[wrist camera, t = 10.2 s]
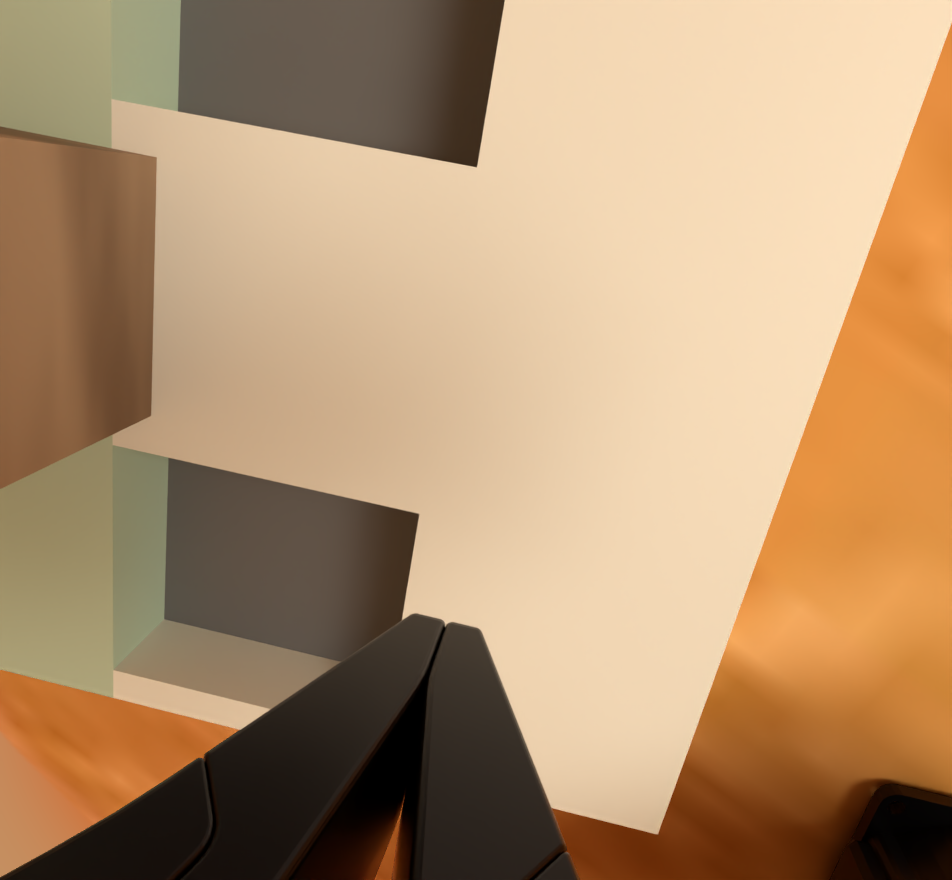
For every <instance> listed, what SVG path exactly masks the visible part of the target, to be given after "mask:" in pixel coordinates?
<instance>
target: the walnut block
mask: <svg viewBox="0 0 952 880" xmlns="http://www.w3.org/2000/svg"><path fill="white" fill-rule="evenodd" d="M156 172H157V157H153V156H148V155H143V154H138V153H133V152H128V151H122V150H117V149H112V148H107V147H102V146H97V145H92V144H87V143H82V142H77V141H72V140H67V139H62V138H57V137H52V136H47V135H41V134H36V133H31V132H26V131H21V130H16V129H11V128H6V127H1V126H0V489H2V488H4V487H6V486H8V485H10V484H12V483H14V482H16V481H18V480H20V479H22V478H24V477H26V476H28V475H31V474H33V473H35V472H37V471H39V470H41V469H43V468H45V467H47V466H49V465H51V464H53V463H55V462H57V461H59V460H61V459H63V458H66V457H68V456H70V455H72V454H74V453H76V452H78V451H80V450H82V449H84V448H86V447H88V446H90V445H92V444H94V443H96V442H98V441H101V440H103V439H105V438H107V437H109V436H111V435H113V434H115V433H117V432H119V431H121V430H123V429H125V428H127V427H129V426H131V425H133V424H136V423H138V422H140V421H142V420H144V419H146V418H148V417H150V416H151V402H152V356H153V310H154V264H155V218H156Z"/></svg>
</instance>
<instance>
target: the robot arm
mask: <svg viewBox="0 0 952 880" xmlns="http://www.w3.org/2000/svg"><path fill="white" fill-rule="evenodd" d="M403 801H404V803H403ZM894 801H897V802H896V803H893V804H890V803H891V802H894ZM402 805H403V808H402ZM401 808H402V814H401V819H400V825H399V831H398V837H397V844H396V851H395V859H394V866H393V873H392V880H580V878H579V875H578V873H577V870H576V868H575V865H574V863H573V860H572V858H571V855H570V854H569V853H567V846H566V843H565V841H564V838H563V836H562V833H561V831H560V828H559V826H558V823H557V821H556V818H555V815H554V813H553V810H552V808H551V805H550V803H549V800H548V798H547V795H546V793H545V790H544V788H543V785H542V783H541V780H540V778H539V775H538V772H537V770H536V767H535V765H534V762H533V760H532V757H531V755H530V752H529V750H528V747H527V745H526V742H525V740H524V737H523V734H522V732H521V729H520V727H519V724H518V722H517V719H516V717H515V714H514V712H513V709H512V707H511V704H510V702H509V699H508V697H507V694H506V691H505V689H504V686H503V684H502V681H501V679H500V676H499V674H498V671H497V669H496V666H495V664H494V661H493V659H492V656H491V653H490V651H489V648H488V646H487V643H486V641H485V638H484V636H483V633H482V631H481V630H480V629H479V628H477V627H473V626H469V625H464V624H460V623H456V622H450V623H448V624H447V625H446V627H445V622H444V621H443V620H442V619H439V618H435V617H430V616H426V615H422V614H418V613H413V614H411V615H409V616H408V617H406V618H405V619H403V620H402V621H400V622H399V623H397V624H396V625H394V626H393V627H391V628H390V629H388V630H387V631H385V632H384V633H382V634H381V635H379V636H378V637H377V638H375V639H374V640H372V641H371V642H369V643H368V644H366V645H365V646H363V647H362V648H360V649H359V650H357V651H356V652H354V653H353V654H351V655H350V656H348V657H347V658H346V659H344V660H343V661H341V662H340V663H338V664H337V665H335V666H334V667H332V668H331V669H329V670H328V671H326V672H325V673H323V674H322V675H320V676H319V677H317V678H316V679H315V680H313V681H312V682H310V683H309V684H307V685H306V686H304V687H303V688H301V689H300V690H298V691H297V692H295V693H294V694H292V695H291V696H289V697H288V698H286V699H285V700H283V701H282V702H281V703H279V704H278V705H276V706H275V707H273V708H272V709H270V710H269V711H267V712H266V713H264V714H263V715H261V716H260V717H258V718H257V719H255V720H254V721H252V722H251V723H250V724H248V725H247V726H245V727H244V728H242V729H241V730H239V731H238V732H236V733H235V734H233V735H232V736H230V737H229V738H227V739H226V740H224V741H223V742H221V743H220V744H219V745H217V746H216V747H214V748H213V749H211V750H210V751H208V752H207V753H206V754H205V755H204V759H203V758H197V759H196V760H194V761H193V762H191V763H190V764H188V765H187V766H185V767H184V768H183V769H181V770H180V771H178V772H177V773H175V774H174V775H172V776H171V777H169V778H168V779H166V780H165V781H163V782H162V783H160V784H158V785H157V786H155V787H154V788H152V789H151V790H149V791H147V792H146V793H144V794H143V795H141V796H140V797H138V798H137V799H135V800H133V801H132V802H130V803H129V804H127V805H126V806H124V807H122V808H121V809H119V810H118V811H116V812H115V813H113V814H111V815H109V816H108V817H106V818H104V819H103V820H101V821H99V822H97V823H96V824H94V825H92V826H90V827H89V828H87V829H85V830H84V831H82V832H80V833H78V834H77V835H75V836H73V837H71V838H70V839H68V840H66V841H65V842H63V843H61V844H59V845H58V846H56V847H54V848H52V849H51V850H49V851H47V852H45V853H44V854H42V855H40V856H38V857H36V858H35V859H33V860H31V861H29V862H27V863H25V864H23V865H22V866H20V867H18V868H16V869H15V870H13V871H11V872H9V873H7V874H6V875H4V876H2V877H0V880H374V879H375V877H376V874H377V871H378V869H379V866H380V864H381V861H382V859H383V856H384V854H385V851H386V849H387V846H388V844H389V841H390V839H391V836H392V834H393V831H394V828H395V825H396V823H397V820H398V817H399V815H400V811H401ZM830 880H952V798H951V797H947V796H943V795H938V794H934V793H930V792H926V791H922V790H918V789H914V788H909V787H905V786H901V785H896V784H888V785H883V786H881V787H880V788H878V789H877V790H876V791H875V793H874V794H873V796H872V798H871V800H870V802H869V804H868V806H867V808H866V810H865V813H864V815H863V817H862V819H861V821H860V823H859V825H858V827H857V829H856V831H855V833H854V835H853V837H852V839H851V841H850V843H849V844H848V845H847V846H846V848H845V850H844V852H843V854H842V856H841V858H840V860H839V862H838V864H837V866H836V868H835V870H834V872H833V874H832V876H831V878H830Z"/></svg>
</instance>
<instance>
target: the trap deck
mask: <svg viewBox="0 0 952 880" xmlns="http://www.w3.org/2000/svg"><path fill="white" fill-rule="evenodd" d="M951 23H952V0H0V126H1V127H6V128H11V129H16V130H21V131H26V132H31V133H36V134H41V135H47V136H52V137H57V138H62V139H67V140H72V141H77V142H82V143H87V144H92V145H97V146H102V147H107V148H112V149H117V150H122V151H128V152H133V153H138V154H143V155H148V156H153V157H157V172H156V218H155V264H154V310H153V356H152V402H151V416H150V417H148V418H146V419H144V420H142V421H140V422H138V423H136V424H133V425H131V426H129V427H127V428H125V429H123V430H121V431H119V432H117V433H115V434H113V435H111V436H109V437H107V438H105V439H103V440H101V441H98V442H96V443H94V444H92V445H90V446H88V447H86V448H84V449H82V450H80V451H78V452H76V453H74V454H72V455H70V456H68V457H66V458H63V459H61V460H59V461H57V462H55V463H53V464H51V465H49V466H47V467H45V468H43V469H41V470H39V471H37V472H35V473H33V474H31V475H28V476H26V477H24V478H22V479H20V480H18V481H16V482H14V483H12V484H10V485H8V486H6V487H4V488H2V489H0V670H4V671H8V672H12V673H16V674H20V675H24V676H28V677H32V678H36V679H40V680H44V681H48V682H52V683H56V684H60V685H64V686H68V687H72V688H76V689H80V690H84V691H88V692H92V693H96V694H100V695H104V696H108V697H112V698H116V699H120V700H124V701H128V702H132V703H136V704H140V705H144V706H148V707H152V708H155V709H159V710H163V711H167V712H171V713H175V714H179V715H183V716H187V717H191V718H195V719H199V720H203V721H207V722H211V723H215V724H219V725H223V726H227V727H231V728H235V729H239V730H241V729H242V728H244V727H245V726H247V725H248V724H250V723H251V722H252V721H254V720H255V719H257V718H258V717H260V716H261V715H263V714H264V713H266V712H267V711H269V710H270V709H272V708H273V707H275V706H276V705H278V704H279V703H281V702H282V701H283V700H285V699H286V698H288V697H289V696H291V695H292V694H294V693H295V692H297V691H298V690H300V689H301V688H303V687H304V686H306V685H307V684H309V683H310V682H312V681H313V680H315V679H316V678H317V677H319V676H320V675H322V674H323V673H325V672H326V671H328V670H329V669H331V668H332V667H334V666H335V665H337V664H338V663H340V662H341V661H343V660H344V659H346V658H347V657H348V656H350V655H351V654H353V653H354V652H356V651H357V650H359V649H360V648H362V647H363V646H365V645H366V644H368V643H369V642H371V641H372V640H374V639H375V638H377V637H378V636H379V635H381V634H382V633H384V632H385V631H387V630H388V629H390V628H391V627H393V626H394V625H396V624H397V623H399V622H400V621H402V620H403V619H405V618H406V617H408V616H409V615H411V614H413V613H418V614H422V615H426V616H430V617H435V618H439V619H442V620H443V621H444V622H445V627H446V625H447V624H448V623H450V622H456V623H460V624H464V625H469V626H473V627H477V628H479V629H480V630H481V631H482V633H483V636H484V638H485V641H486V643H487V646H488V648H489V651H490V653H491V656H492V659H493V661H494V664H495V666H496V669H497V671H498V674H499V676H500V679H501V681H502V684H503V686H504V689H505V691H506V694H507V697H508V699H509V702H510V704H511V707H512V709H513V712H514V714H515V717H516V719H517V722H518V724H519V727H520V729H521V732H522V734H523V737H524V740H525V742H526V745H527V747H528V750H529V752H530V755H531V757H532V760H533V762H534V765H535V767H536V770H537V772H538V775H539V778H540V780H541V783H542V785H543V788H544V790H545V793H546V795H547V798H548V800H549V803H550V805H551V808H554V809H558V810H562V811H566V812H570V813H574V814H577V815H581V816H585V817H589V818H593V819H597V820H601V821H605V822H609V823H613V824H617V825H621V826H625V827H629V828H633V829H637V830H641V831H645V832H649V833H653V834H657V835H658V832H659V830H660V827H661V824H662V821H663V819H664V816H665V813H666V810H667V808H668V805H669V802H670V799H671V796H672V794H673V791H674V788H675V785H676V783H677V780H678V777H679V774H680V772H681V769H682V766H683V763H684V761H685V758H686V755H687V752H688V749H689V747H690V744H691V741H692V738H693V736H694V733H695V730H696V727H697V725H698V722H699V719H700V716H701V714H702V711H703V708H704V705H705V703H706V700H707V697H708V694H709V691H710V689H711V686H712V683H713V680H714V678H715V675H716V672H717V669H718V667H719V664H720V661H721V658H722V656H723V653H724V650H725V647H726V644H727V642H728V639H729V636H730V633H731V631H732V628H733V625H734V622H735V620H736V617H737V614H738V611H739V609H740V606H741V603H742V600H743V598H744V595H745V592H746V589H747V586H748V584H749V581H750V578H751V575H752V573H753V570H754V567H755V564H756V562H757V559H758V556H759V553H760V551H761V548H762V545H763V542H764V540H765V537H766V534H767V531H768V528H769V526H770V523H771V520H772V517H773V515H774V512H775V509H776V506H777V504H778V501H779V498H780V495H781V493H782V490H783V487H784V484H785V481H786V479H787V476H788V473H789V470H790V468H791V465H792V462H793V459H794V457H795V454H796V451H797V448H798V446H799V443H800V440H801V437H802V435H803V432H804V429H805V426H806V423H807V421H808V418H809V415H810V412H811V410H812V407H813V404H814V401H815V399H816V396H817V393H818V390H819V388H820V385H821V382H822V379H823V377H824V374H825V371H826V368H827V365H828V363H829V360H830V357H831V354H832V352H833V349H834V346H835V343H836V341H837V338H838V335H839V332H840V330H841V327H842V324H843V321H844V318H845V316H846V313H847V310H848V307H849V305H850V302H851V299H852V296H853V294H854V291H855V288H856V285H857V283H858V280H859V277H860V274H861V272H862V269H863V266H864V263H865V260H866V258H867V255H868V252H869V249H870V247H871V244H872V241H873V238H874V236H875V233H876V230H877V227H878V225H879V222H880V219H881V216H882V213H883V211H884V208H885V205H886V202H887V200H888V197H889V194H890V191H891V189H892V186H893V183H894V180H895V178H896V175H897V172H898V169H899V167H900V164H901V161H902V158H903V155H904V153H905V150H906V147H907V144H908V142H909V139H910V136H911V133H912V131H913V128H914V125H915V122H916V120H917V117H918V114H919V111H920V109H921V106H922V103H923V100H924V97H925V95H926V92H927V89H928V86H929V84H930V81H931V78H932V75H933V73H934V70H935V67H936V64H937V62H938V59H939V56H940V53H941V50H942V48H943V45H944V42H945V39H946V37H947V34H948V31H949V28H950V26H951Z"/></svg>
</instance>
